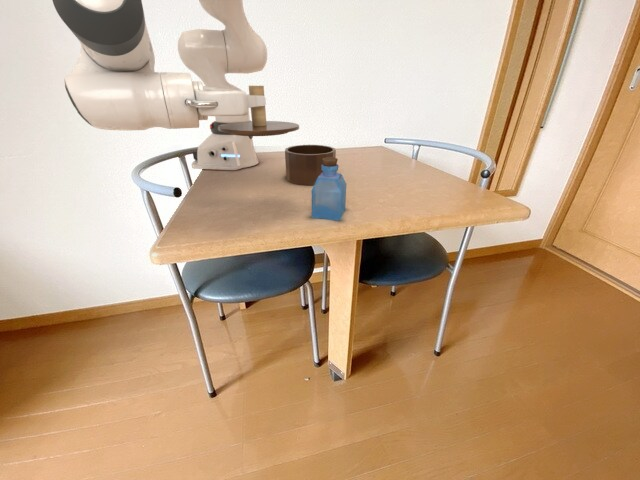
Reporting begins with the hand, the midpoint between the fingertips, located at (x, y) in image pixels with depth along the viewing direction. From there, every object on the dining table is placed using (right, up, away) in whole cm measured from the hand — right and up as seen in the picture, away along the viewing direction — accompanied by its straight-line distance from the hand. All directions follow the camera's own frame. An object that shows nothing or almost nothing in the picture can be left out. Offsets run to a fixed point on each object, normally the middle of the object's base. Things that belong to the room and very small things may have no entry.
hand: (261, 100), depth 57 cm
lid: (-1, -5, +2) cm, 5 cm away
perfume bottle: (+13, -21, +9) cm, 26 cm away
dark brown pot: (+8, -8, +33) cm, 35 cm away
